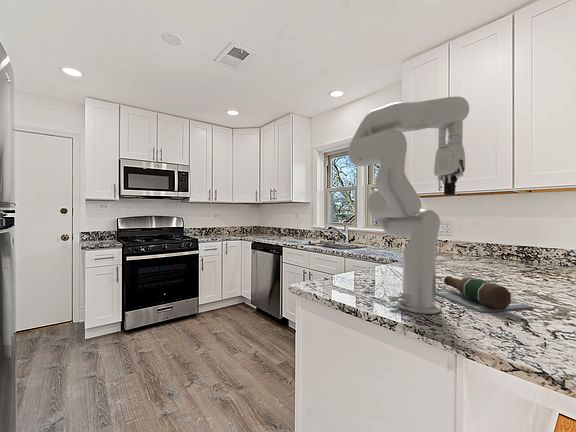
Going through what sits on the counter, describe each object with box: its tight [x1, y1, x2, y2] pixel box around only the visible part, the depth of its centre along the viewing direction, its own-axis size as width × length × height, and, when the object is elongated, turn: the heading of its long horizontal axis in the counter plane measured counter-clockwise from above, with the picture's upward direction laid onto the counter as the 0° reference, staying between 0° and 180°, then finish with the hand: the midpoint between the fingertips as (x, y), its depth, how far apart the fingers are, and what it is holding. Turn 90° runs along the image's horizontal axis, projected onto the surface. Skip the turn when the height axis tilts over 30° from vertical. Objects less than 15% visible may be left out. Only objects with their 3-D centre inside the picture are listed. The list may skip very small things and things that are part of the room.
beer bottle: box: [443, 276, 512, 310], centre depth 98 cm, size 8×8×24 cm
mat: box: [435, 289, 534, 314], centre depth 99 cm, size 20×22×1 cm
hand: (449, 194), depth 101 cm, fingers closed
